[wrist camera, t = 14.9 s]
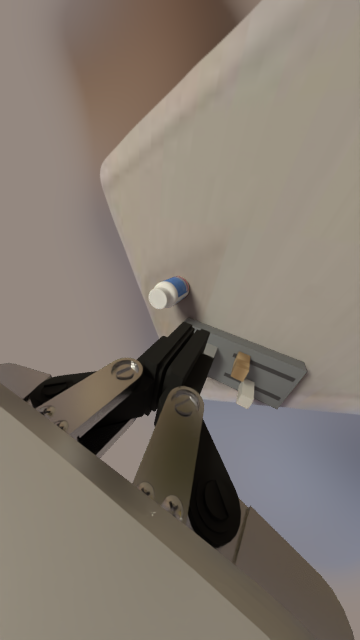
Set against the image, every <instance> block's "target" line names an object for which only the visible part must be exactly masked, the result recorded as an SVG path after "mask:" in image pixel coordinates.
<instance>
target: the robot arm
mask: <svg viewBox="0 0 360 640" xmlns="http://www.w3.org/2000/svg"><path fill="white" fill-rule="evenodd" d="M194 331H195V328H193V325H192V324H189V323H187V322H183V323H182V324H181V325H180V326H179V327H178V328H177V329H176V330H175V331H174V332H172V333H171V334H170V335H169V336H168V337H165V336H162V337H161V338H160V339H159V340H158V341H157V342H155V343H154V344H153V345H152V346H151V347H150V348H149V349H148V350H147V351H146V352H145V353H143V355H141V356H140V357H139V358H138V359H137V360H135V359H132V358H120V359H117V360H115V361H113V362H112V363H110V364H108V365H107V366H105V367H103V368H102V369H100V370H99V371H95V372H87V373H79V374H71V375H63V376H57V377H52V376H51V375H50V374H46V373H44V372H40V371H37V370H34V369H30V368H27V367H23V366H20V365H17V364H12V363H6V364H0V640H354V636H353V632H352V629H351V627H350V624H349V621H348V619H347V617H346V614H345V611H344V609H343V607H342V606H341V604H340V602H339V600H338V599H337V597H336V595H335V593H334V592H333V590H332V589H331V587H330V586H329V585H328V584H327V582H326V581H325V580H324V579H323V578H322V576H321V575H320V574H319V573H318V572H316V570H315V569H314V568H313V567H312V566H311V565H310V564H309V563H307V561H306V560H305V559H304V558H302V556H301V555H300V554H299V553H298V552H297V551H296V550H295V549H294V548H293V547H292V546H290V544H289V543H288V542H287V541H286V540H284V538H282V537H281V536H280V535H279V534H278V533H277V532H276V531H275V530H274V529H273V528H272V527H271V526H270V525H269V524H268V523H267V522H266V521H265V520H264V519H263V518H262V517H261V516H260V515H259V514H258V513H257V512H256V511H255V510H254V509H253V508H252V507H251V506H250V507H249V508H248V507H247V506H246V505H245V504H244V503H243V502H242V501H241V500H240V499H239V498H238V495H237V493H236V490H235V488H234V486H233V483H232V481H231V480H230V477H229V475H228V472H227V470H226V468H225V466H224V464H223V462H222V459H221V457H220V455H219V453H218V451H217V449H216V446H215V444H214V442H213V440H212V438H211V435H210V433H209V431H208V429H207V427H206V425H205V423H204V420H203V412H204V402H203V399H202V398H201V396H200V393H201V390H202V388H203V385H204V383H205V381H206V378H207V376H208V373H209V370H210V368H211V365H212V363H213V360H214V358H213V357H211V356H208V355H206V354H204V350H205V347H206V344H207V341H208V338H209V335H210V332H209V331H207V330H204V329H201V330H198V329H197V330H196V332H195V333H194ZM156 409H157V413H156V417H155V422H154V425H155V429H154V431H153V434H152V436H151V439H150V441H149V444H148V446H147V448H146V451H145V453H144V456H143V458H142V461H141V463H140V466H139V468H138V471H137V473H136V476H135V478H134V481H133V483H130V482H129V481H128V480H127V479H125V478H124V477H123V476H122V475H120V474H119V473H118V472H116V471H115V470H114V469H112V468H111V467H110V466H108V465H107V464H106V463H105V462H103V461H102V460H101V459H100V458H101V457H102V455H104V453H105V452H106V451H107V450H108V449H109V448H110V447H111V446H112V445H113V444H114V443H115V442H116V441H117V440H118V438H120V436H121V435H122V434H123V433H124V432H125V431H126V430H127V429H128V428H129V427H130V426H131V425H132V424H133V422H134V421H135V420H136V418H137V417H141V416H143V415H144V414H146V415H147V416H148V415H149V414H150V412H151V410H153V411H156Z"/></svg>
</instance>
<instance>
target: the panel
mask: <svg viewBox="0 0 360 640" xmlns="http://www.w3.org/2000/svg"><path fill="white" fill-rule="evenodd" d="M184 322H187V323H189V324H192V325H193V328H195V331H194V333H195V332H196V330H197V329H198V330H201V329H204V330H207V331H209V332H210V335H209V338H208V341H207V344H206V347H205V350H204V354H206V355H208V356H211V357H213V358H214V360H213V363H212V365H211V368H210V370H209V373H208V377H210V378H213V379H215V380H217V381H219V382H221V383H223V384H225V385H227V386H229V387H231V388H234V389H236V390H238V388H239V385H240V383H241V381H240V380H237V379H235V378H233V377H231V373H232V368H233V364H234V361H235V358H236V356H237V354H238V352H239V351H240V352H242V353H244V354H247V355H249V356H250V365H249V372H248V374H247V376H246V377H245V378H246V379H248V380H250V381H252V382H254V399H257V400H259V401H261V402H263V403H265V404H267V405H269V406H271V407H273V408H275V409H278V407H279V406H280V405H281V404H282V402H283V401H284V400H285V399H286V397H287V396H288V395H289V394H290V392H291V391H292V390H293V389H294V387H295V386H296V385H297V384H298V382H299V381H300V380H301V379H302V377H303V376H304V375H305V374H306V372H307V369H306V367H305V364H304V362H302V361H300V360H297V359H294V358H292V357H289V356H287V355H284V354H281V353H279V352H276V351H274V350H271V349H268V348H266V347H263V346H261V345H258V344H256V343H253V342H250V341H248V340H245V339H243V338H240V337H237V336H235V335H232V334H230V333H227V332H224V331H222V330H219V329H217V328H214V327H212V326H209V325H206V324H204V323H201V322H199V321H196V320H193V319H191V318H187V319H186V320H185V321H184Z"/></svg>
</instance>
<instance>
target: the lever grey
mask: <svg viewBox="0 0 360 640" xmlns="http://www.w3.org/2000/svg"><path fill="white" fill-rule="evenodd" d="M253 400H254V382H252V381H250V380H248V379H246V378H245V379H244V381H243V382H242V381H241V383H240V385H239V388H238V395H237V401H236V403H237V404H238V405H240V406H242V407H244V408H247V409H248V408H249V407H250V405H251V403H252V402H253Z"/></svg>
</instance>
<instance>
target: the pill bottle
mask: <svg viewBox="0 0 360 640" xmlns="http://www.w3.org/2000/svg"><path fill="white" fill-rule="evenodd" d="M188 293H189V285H188V282H187V281H186V280H185V279H184V278H183V277H180V276H176V277H172V278H170V279H167V280H165V281H162V282H160V283H158V284H157V285H156V286H155V288H154V289H153V290H151V292H150V293H149V301H150V303H151V305H152V306H153V307H154V308H156V309H163V308H170V307H172V306H174V305H175V304H176V303H178V302H179V301H181V300H182V299H184V298H185V297H186V296H187V295H188Z"/></svg>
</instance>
